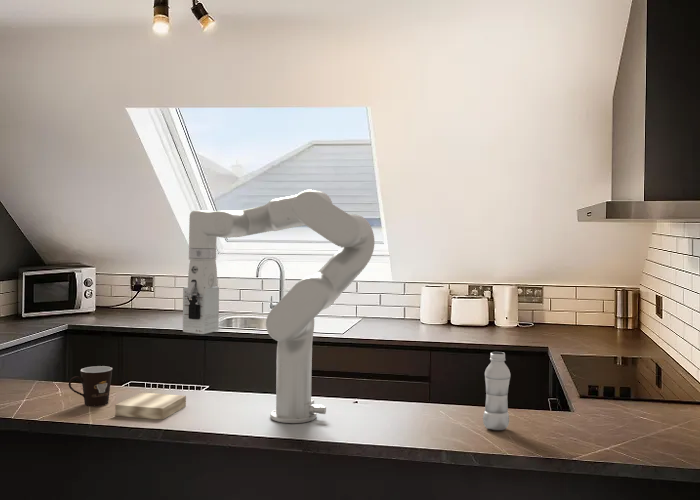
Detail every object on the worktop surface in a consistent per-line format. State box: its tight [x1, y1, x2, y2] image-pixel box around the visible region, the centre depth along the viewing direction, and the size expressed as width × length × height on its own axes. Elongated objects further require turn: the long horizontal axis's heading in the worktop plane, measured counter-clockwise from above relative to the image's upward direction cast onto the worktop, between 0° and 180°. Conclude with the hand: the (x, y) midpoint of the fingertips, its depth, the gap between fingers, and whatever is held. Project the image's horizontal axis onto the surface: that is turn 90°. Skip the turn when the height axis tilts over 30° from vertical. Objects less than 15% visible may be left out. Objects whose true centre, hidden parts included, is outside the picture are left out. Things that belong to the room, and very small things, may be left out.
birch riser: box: [114, 392, 187, 421], centre depth 197 cm, size 14×14×3 cm
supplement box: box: [182, 286, 220, 335], centre depth 198 cm, size 7×7×13 cm
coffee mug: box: [68, 365, 113, 408], centre depth 203 cm, size 12×9×10 cm
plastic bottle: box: [482, 351, 511, 431], centre depth 184 cm, size 6×7×20 cm
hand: (201, 316), depth 198 cm, fingers closed on supplement box, 8 cm apart
